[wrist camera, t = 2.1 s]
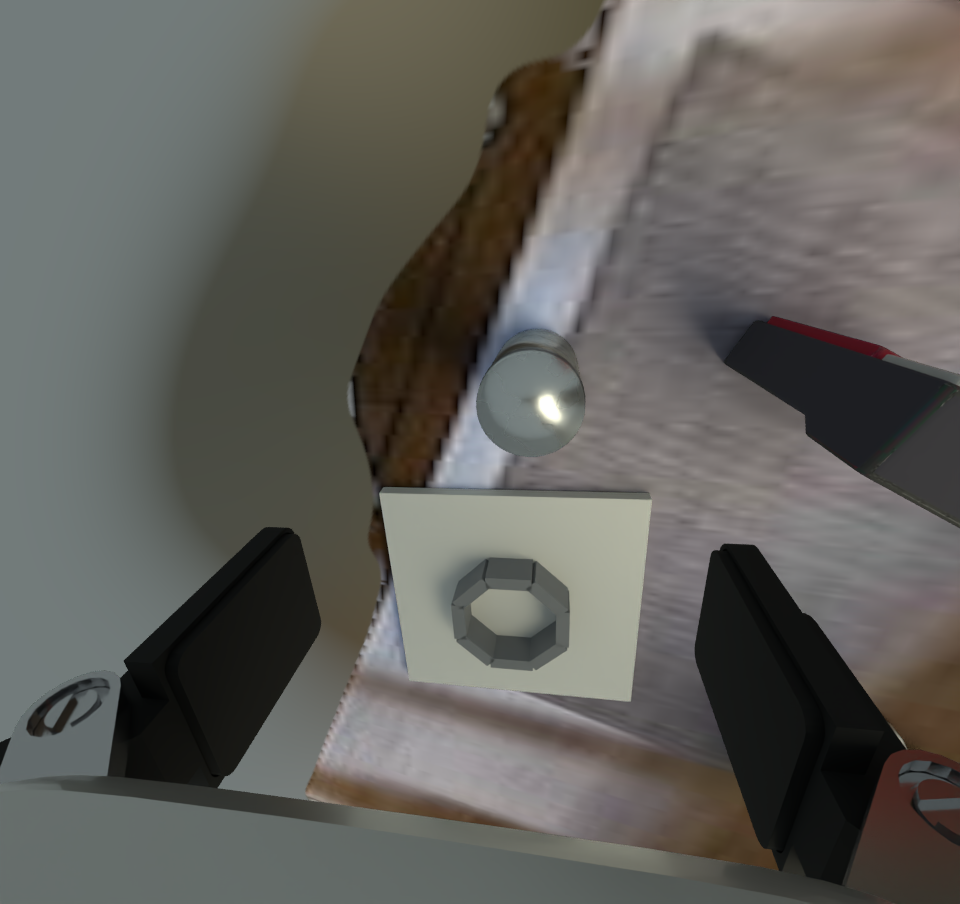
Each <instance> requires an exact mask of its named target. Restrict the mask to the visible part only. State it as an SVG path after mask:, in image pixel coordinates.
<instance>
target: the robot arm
mask: <svg viewBox="0 0 960 904" xmlns="http://www.w3.org/2000/svg"><path fill="white" fill-rule="evenodd" d="M320 627H321V619H320V615H319V610H318V607H317V603H316V599H315V595H314V591H313V587H312V583H311V579H310V575H309V571H308V567H307V563H306V560H305V556H304V552H303V548H302V544H301V540H300V537H299V536H298V535H296V534H294V532H293V531H292V529H290V528H277V527H266V528H264V529H262V530H261V531H260V532H259V533H258V534H257V535H256V536H255V537H254V538H253V539H251V540H250V541H249V542H248V543H247V544H246V545H245V546H244V547H243V548H242V549H241V550H240V551H239V552H238V553H237V554H236V555H235V556H234V557H233V558H232V559H230V560H229V561H228V562H227V563H226V564H225V565H224V566H223V567H222V568H221V569H220V570H219V571H218V572H217V573H216V574H215V575H214V576H213V577H211V578H210V579H209V580H208V581H207V582H206V583H205V584H204V585H203V586H202V587H201V588H200V589H199V590H198V591H197V592H196V593H195V594H194V595H193V596H191V597H190V598H189V599H188V600H187V601H186V602H185V603H184V604H183V605H182V606H181V607H180V608H179V609H178V610H177V611H176V612H175V613H173V614H172V615H171V616H170V617H169V618H168V619H167V620H166V621H165V622H164V623H163V624H162V625H161V626H160V627H159V628H158V629H157V630H156V631H154V633H152V634H151V635H150V636H149V637H148V638H147V639H146V640H145V641H144V642H143V643H142V644H141V645H140V646H139V647H138V648H137V649H135V650H134V651H133V652H132V653H131V654H130V655H129V656H128V657H127V658H126V659H125V660H124V663H125V665H126V667H127V669H128V671H127V672H126V673H125V674H124V675H123V676H122V677H121V678H120V677H119V676H118V675H116V674H115V673H114V672H110V671H105V670H104V671H95V672H90V673H86V674H83V675H80V676H77V677H75V678H73V679H70V680H68V681H66V682H64V683H62V684H60V685H59V686H57V687H56V688H54V689H52V690H51V691H49V692H47V693H46V694H45V695H43V696H42V697H41V698H40V699H38V700H37V701H36V702H35V703H33V704H32V705H31V706H30V708H29V709H28V710H27V711H26V712H25V713H24V714H23V715H22V716H21V718H20V720H19V721H18V723H17V725H16V727H15V729H14V732H13V734H12V737H11V738H9V739H6V740H4V741H2V742H0V904H960V763H957V762H955V761H953V760H951V759H948V758H946V757H944V756H942V755H938V754H934V753H930V752H927V751H923V750H907V747H906V745H905V743H904V741H903V740H902V738H901V737H900V735H899V734H898V733H897V731H896V730H895V729H894V727H893V726H892V725H891V724H890V723H888V722H887V721H886V720H885V718H884V717H883V715H882V714H881V713H880V711H879V710H878V708H877V707H876V705H875V704H874V703H873V701H872V700H871V698H870V697H869V696H868V694H867V693H866V691H865V690H864V689H863V687H862V686H861V684H860V683H859V682H858V680H857V679H856V677H855V676H854V675H853V673H852V672H851V670H850V669H849V668H848V666H847V665H846V663H845V662H844V660H843V659H842V658H841V656H840V655H839V653H838V652H837V651H836V649H835V648H834V646H833V645H832V644H831V642H830V641H829V639H828V638H827V637H826V635H825V634H824V632H823V631H822V630H821V628H820V627H819V625H818V624H817V623H816V621H815V620H814V619H813V618H812V617H811V616H809V615H807V614H805V613H802V612H801V610H800V609H799V607H798V606H797V604H796V603H795V602H794V600H793V599H792V597H791V596H790V594H789V593H788V591H787V590H786V589H785V587H784V586H783V584H782V583H781V581H780V580H779V578H778V577H777V575H776V574H775V573H774V571H773V570H772V568H771V567H770V565H769V564H768V562H767V561H766V560H765V558H764V557H763V555H762V554H761V552H760V551H759V549H758V548H757V547H756V546H755V545H746V544H723V545H722V546H721V548H720V551H718V550H714V551H713V552H712V553H711V557H710V563H709V568H708V574H707V580H706V585H705V591H704V597H703V603H702V608H701V614H700V620H699V625H698V631H697V637H696V642H695V658H696V663H697V666H698V669H699V672H700V675H701V678H702V681H703V684H704V686H705V689H706V692H707V695H708V698H709V701H710V704H711V707H712V709H713V712H714V715H715V718H716V721H717V724H718V727H719V730H720V732H721V735H722V738H723V741H724V744H725V747H726V750H727V753H728V756H729V758H730V761H731V764H732V767H733V770H734V773H735V776H736V779H737V781H738V784H739V787H740V790H741V793H742V796H743V799H744V802H745V804H746V807H747V810H748V813H749V816H750V819H751V822H752V825H753V827H754V830H755V833H756V836H757V838H758V841H759V842H760V844H761V846H762V847H763V848H765V849H772V852H773V855H774V858H775V860H776V863H777V866H778V868H779V871H777V870H772V869H768V868H763V867H757V866H751V865H745V864H739V863H733V862H727V861H721V860H715V859H709V858H702V857H696V856H690V855H684V854H678V853H672V852H666V851H660V850H654V849H647V848H640V847H634V846H627V845H620V844H613V843H606V842H599V841H592V840H585V839H578V838H572V837H565V836H558V835H551V834H544V833H537V832H530V831H523V830H516V829H510V828H503V827H496V826H489V825H482V824H475V823H467V822H460V821H453V820H446V819H439V818H432V817H425V816H417V815H410V814H403V813H396V812H389V811H381V810H374V809H367V808H360V807H352V806H345V805H338V804H331V803H324V802H316V801H309V800H301V799H294V798H286V797H278V796H271V795H263V794H255V793H248V792H241V791H233V790H225V789H218V786H219V785H220V783H221V782H222V780H223V778H224V777H225V776H228V775H230V774H231V773H232V772H233V771H234V770H235V768H236V767H237V766H238V764H239V762H240V761H241V759H242V757H243V756H244V754H245V753H246V751H247V749H248V748H249V746H250V744H251V743H252V741H253V740H254V738H255V736H256V735H257V733H258V732H259V730H260V728H261V727H262V725H263V723H264V722H265V720H266V719H267V717H268V715H269V714H270V712H271V710H272V709H273V707H274V706H275V704H276V702H277V701H278V699H279V698H280V696H281V694H282V693H283V691H284V689H285V688H286V686H287V685H288V683H289V681H290V680H291V678H292V676H293V675H294V673H295V672H296V670H297V668H298V667H299V665H300V663H301V662H302V660H303V659H304V657H305V655H306V653H307V652H308V650H309V649H310V647H311V646H312V644H313V642H314V641H315V639H316V638H317V636H318V634H319V631H320Z"/></svg>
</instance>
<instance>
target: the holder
mask: <svg viewBox="0 0 960 904" xmlns="http://www.w3.org/2000/svg"><path fill="white" fill-rule="evenodd" d="M379 495H380V501H381V507H382V513H383V520H384V526H385V532H386V538H387V544H388V551H389V557H390V563H391V569H392V575H393V582H394V588H395V594H396V600H397V606H398V613H399V619H400V625H401V631H402V637H403V644H404V650H405V656H406V662H407V668H408V674H409V681H417V682H427V683H438V684H449V685H459V686H470V687H480V688H491V689H501V690H512V691H523V692H533V693H544V694H554V695H565V696H575V697H586V698H597V699H607V700H618V701H628V702H631V693H632V684H633V674H634V665H635V655H636V646H637V636H638V627H639V617H640V608H641V599H642V589H643V580H644V570H645V561H646V551H647V542H648V532H649V523H650V513H651V504H652V499H651V496H650V494H649V493H627V492H582V491H538V490H493V489H449V488H404V487H383V489H382V490H381V491H380V493H379Z"/></svg>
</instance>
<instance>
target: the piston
mask: <svg viewBox="0 0 960 904" xmlns="http://www.w3.org/2000/svg"><path fill="white" fill-rule="evenodd" d="M476 408H477V415H478V419H479V422H480V424H481V427H482V429H483V430H484V432H485V434H486V435H487V436H488V437H489V439H490V440H491V441H492V442H493V443H495V444H496V445H497V446H498V447H500V448H501V449H503V450H505V451H507V452H509V453H512V454H515V455H519V456H525V457H538V456H543V455H547V454H550V453H553V452H555V451H557V450H559V449H560V448H562V447H564V446H565V445H566V444H567V443H568V442H569V441H570V440H571V439H572V438H573V437H574V436H575V435H576V433H577V432H578V430H579V428H580V426H581V424H582V421H583V418H584V413H585V393H584V387H583V384H582V381H581V377H580V372H579V367H578V362H577V358H576V355H575V353H574V351H573V349H572V347H571V346H570V344H569V343H568V342H567V341H566V340H565V339H564V338H563V337H561V336H560V335H558V334H556V333H554V332H552V331H549V330H544V329H530V330H526V331H523V332H520V333H518V334H516V335H514V336H513V337H512V338H510V339H509V340H508V341H507V342H506V343H505V344H504V346H503V347H502V349H501V350H500V352H499V354H498V355H497V357H496V359H495V360H494V362H493V364H492V365H491V367H490V368H489V369H488V371H487V372H486V374H485V376H484V377H483V379H482V382H481V384H480V387H479V391H478V394H477V401H476Z"/></svg>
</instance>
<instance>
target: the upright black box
mask: <svg viewBox="0 0 960 904" xmlns="http://www.w3.org/2000/svg"><path fill="white" fill-rule="evenodd" d="M724 363H725V364H726V365H728V366H729V367H731V368H732V369H734V370H735V371H737V372H738V373H740V374H742V375H743V376H745V377H746V378H748V379H749V380H751V381H753V382H754V383H756V384H757V385H759V386H760V387H762V388H764V389H765V390H767V391H768V392H770V393H771V394H773V395H775V396H776V397H778V398H779V399H781V400H782V401H784V402H786V403H787V404H789V405H790V406H792V407H793V408H795V409H797V410H798V411H800V412H801V413H803V414H804V415H805V424H806V434H807V435H808V436H809V437H810V438H811V439H813V440H814V441H815V442H817V443H818V444H820V445H821V446H822V447H824V448H825V449H827V450H828V451H829V452H831V453H832V454H833V455H835V456H836V457H838V458H839V459H840V460H842V461H843V462H845V463H846V464H847V465H849V466H850V467H852V468H853V469H854V470H856V471H857V472H859V473H860V474H862V475H864V476H865V477H867V478H869V479H871V480H873V481H874V482H876V483H878V484H880V485H882V486H884V487H885V488H887V489H889V490H891V491H893V492H895V493H896V494H898V495H900V496H902V497H904V498H905V499H907V500H909V501H911V502H913V503H915V504H916V505H918V506H920V507H922V508H924V509H926V510H927V511H929V512H931V513H933V514H935V515H937V516H938V517H940V518H942V519H944V520H946V521H948V522H949V523H951V524H953V525H955V526H957V527H959V528H960V375H959V374H956V373H952V372H949V371H946V370H942V369H939V368H935V367H932V366H929V365H925V364H922V363H918V362H915V361H912V360H908V359H905V358H902V357H901V356H899V355H897V354H895V353H894V352H892V351H890V350H888V349H886V348H884V347H882V346H879V345H876V344H873V343H869V342H866V341H862V340H858V339H855V338H851V337H847V336H844V335H840V334H837V333H833V332H829V331H826V330H822V329H819V328H815V327H811V326H808V325H804V324H800V323H797V322H793V321H790V320H786V319H782V318H779V317H775V316H772V317H771V319H770V320H769V321H768V322H767V323H765V322H761V321H755V322H754V323H753V324H752V325H751V327H750V328H749V329H748V331H747V332H746V333H745V335H744V336H743V337H742V339H741V340H740V341H739V343H738V344H737V345H736V346H735V348H734V349H733V350H732V352H731V353H730V354H729V356H728V357H727V358H726V360H725V362H724Z"/></svg>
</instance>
